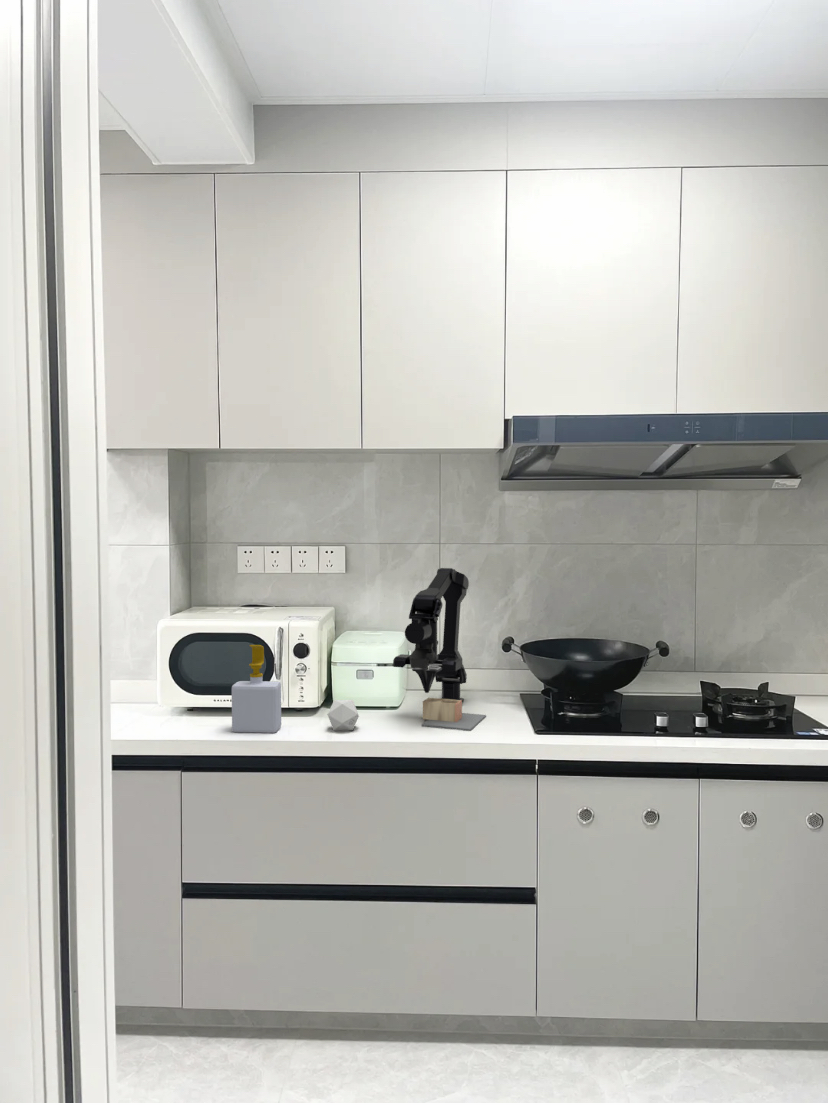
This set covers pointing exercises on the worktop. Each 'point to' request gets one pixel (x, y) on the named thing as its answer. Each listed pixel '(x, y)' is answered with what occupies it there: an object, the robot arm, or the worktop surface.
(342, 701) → the die
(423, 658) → the robot arm
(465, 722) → the mat
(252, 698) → the soap bottle
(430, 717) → the pine block
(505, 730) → the worktop surface
